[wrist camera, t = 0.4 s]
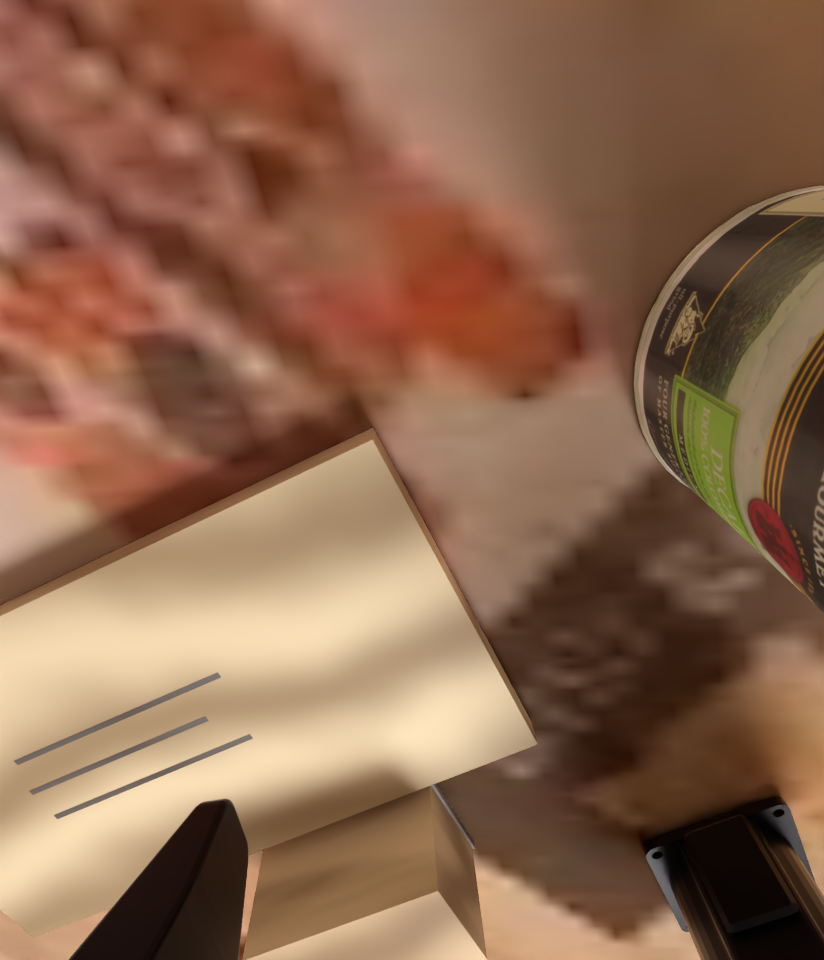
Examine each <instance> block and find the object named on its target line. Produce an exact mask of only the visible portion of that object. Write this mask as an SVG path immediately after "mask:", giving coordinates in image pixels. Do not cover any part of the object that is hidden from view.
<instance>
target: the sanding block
mask: <svg viewBox="0 0 824 960" xmlns="http://www.w3.org/2000/svg"><path fill="white" fill-rule="evenodd" d="M473 848H475V845H474V842H473V840H472V839H471V837H470V836H469V834H468V832H467V831H466V829H465V828H464V826H463V825H462V823H461V822H460V820H459V819H458V817H457V816H456V814H455V813H454V811H453V809H452V808H451V806H450V805H449V803H448V802H447V800H446V799H445V797H444V796H443V794H442V793H441V791H440V790H439V788H438V786H437V785H436V784H433V785H430V786H428V787H425V788H423V789H420V790H417V791H415V792H412V793H410V794H407V795H404V796H402V797H399V798H397V799H394V800H391V801H389V802H386V803H384V804H381V805H378V806H376V807H373V808H370V809H368V810H365V811H363V812H360V813H357V814H355V815H352V816H350V817H347V818H344V819H342V820H339V821H337V822H334V823H331V824H329V825H326V826H324V827H321V828H318V829H316V830H313V831H311V832H308V833H305V834H303V835H300V836H298V837H295V838H292V839H290V840H287V841H285V842H282V843H279V844H277V845H274V846H271V847H269V848H266V849H264V850H263V855H262V860H261V866H260V871H259V876H258V881H257V887H256V892H255V897H254V902H253V908H252V913H251V918H250V923H249V929H248V934H247V939H246V945H245V950H244V955H243V960H486V959H487V956H486V948H485V941H484V933H483V926H482V919H481V911H480V904H479V896H478V889H477V881H476V874H475V866H474V859H473V851H472V849H473Z"/></svg>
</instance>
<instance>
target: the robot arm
mask: <svg viewBox="0 0 824 960" xmlns="http://www.w3.org/2000/svg"><path fill="white" fill-rule="evenodd" d="M643 851H644V854H645V856H646V859H647V861H648V863H649V865H650V867H651V869H652V871H653V873H654V875H655V877H656V879H657V881H658V883H659V885H660V887H661V889H662V891H663V893H664V895H665V897H666V899H667V901H668V903H669V905H670V907H671V909H672V911H673V913H674V915H675V917H676V919H677V921H678V923H679V925H680V927H681V929H682V930H683V931H685V932H690V934H691V937H692V939H693V942H694V944H695V946H696V949H697V951H698V954H699V956H700V958H701V960H824V896H823V894H822V892H821V891H820V889H819V888H818V886H817V885H816V883H815V880H814V877H813V874H812V872H811V869H810V866H809V863H808V860H807V857H806V854H805V851H804V848H803V846H802V843H801V840H800V837H799V834H798V831H797V828H796V825H795V822H794V820H793V817H792V814H791V811H790V809H789V807H788V806H787V804H786V803H785V801H784V800H783V799H782V798H780V797H773V798H769V799H767V800H764V801H761V802H758V803H755V804H752V805H750V806H747V807H744V808H741V809H738V810H735V811H732V812H730V813H727V814H724V815H721V816H718V817H715V818H713V819H710V820H707V821H704V822H701V823H698V824H695V825H693V826H690V827H687V828H684V829H681V830H678V831H676V832H673V833H670V834H667V835H664V836H661V837H659V838H656V839H653V840H650V841H648V842H647V843H646V844H645V845H644V846H643ZM247 868H248V843H247V839H246V836H245V833H244V831H243V828H242V825H241V822H240V820H239V817H238V814H237V812H236V809H235V806H234V804H233V802H232V801H231V800H229V799H219V800H212V801H205V802H202V803H200V804H199V805H197V806H196V807H195V808H194V809H193V811H192V812H191V813H190V814H189V815H188V817H187V818H186V819H185V820H184V821H183V823H182V824H181V825H180V826H179V827H178V829H177V830H176V831H175V832H174V833H173V835H172V836H171V837H170V838H169V839H168V841H167V842H166V843H165V844H164V846H163V847H162V848H161V849H160V850H159V852H158V853H157V854H156V855H155V856H154V858H153V859H152V860H151V861H150V862H149V864H148V865H147V866H146V867H145V868H144V870H143V871H142V872H141V873H140V874H139V876H138V877H137V878H136V879H135V880H134V882H133V883H132V884H131V885H130V886H129V888H128V889H127V890H126V891H125V892H124V894H123V895H122V896H121V897H120V898H119V900H118V901H117V902H116V903H115V904H114V906H113V907H112V908H111V909H110V911H109V912H108V913H107V914H106V915H105V917H104V918H103V919H102V920H101V921H100V923H99V924H98V925H97V926H96V927H95V929H94V930H93V931H92V932H91V933H90V935H89V936H88V937H87V938H86V939H85V941H84V942H83V943H82V944H81V945H80V947H79V948H78V949H77V950H76V951H75V953H74V954H73V955H72V956H71V957H70V959H69V960H238V958H239V948H240V938H241V928H242V918H243V908H244V898H245V888H246V878H247Z"/></svg>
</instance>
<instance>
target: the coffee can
mask: <svg viewBox="0 0 824 960" xmlns="http://www.w3.org/2000/svg"><path fill="white" fill-rule="evenodd" d="M634 394H635V405H636V410H637V415H638V419H639V423H640V427H641V431H642V433H643V435H644V437H645V439H646V441H647V443H648V445H649V447H650V449H651V450H652V452H653V454H654V455H655V456H656V458H657V459H658V460H659V462H660V463H661V464H662V465H663V466H664V468H665V469H666V470H667V471H668V472H669V473H671V474H672V475H673V476H674V477H675V478H676V479H677V480H678V481H680V482H681V483H682V484H684V485H685V486H687V487H688V488H690V489H691V490H692V491H693V492H694V493H695V494H697V495H698V496H699V497H700V498H701V499H702V500H703V501H704V502H705V503H706V504H707V505H709V506H710V507H711V508H712V509H713V510H714V511H715V512H716V513H718V514H719V515H720V516H721V517H722V518H723V519H724V520H725V521H726V522H727V523H728V524H730V525H731V526H732V527H733V528H734V529H735V530H736V531H737V532H738V533H739V534H740V535H741V536H742V537H743V538H745V539H746V540H747V541H748V542H749V543H750V544H751V545H752V546H753V547H754V548H755V549H756V550H757V551H758V552H759V553H760V554H762V555H763V556H764V557H765V558H766V559H767V560H768V561H769V562H770V563H771V564H772V565H773V566H774V567H775V568H776V569H778V570H779V571H780V572H781V573H782V574H783V575H784V576H785V577H786V578H787V579H788V580H789V581H790V582H791V583H793V584H794V585H795V586H796V587H797V588H798V589H799V590H800V591H801V592H802V593H803V594H805V596H806V597H807V598H808V599H809V600H811V601H812V602H813V603H814V604H815V605H816V606H817V607H818V608H819V609H820V610H821V611H822V612H823V613H824V186H813V187H807V188H802V189H797V190H793V191H790V192H786V193H782V194H779V195H777V196H774V197H772V198H769V199H767V200H764V201H762V202H760V203H758V204H755V205H752V206H750V207H747V208H746V209H744V210H743V211H741V212H739V213H738V214H736V215H735V216H734V217H732V218H731V219H729V220H728V221H727V222H725V223H724V224H722V225H721V226H719V227H718V228H716V229H715V230H714V231H713V232H711V233H710V234H709V235H708V236H707V237H706V238H705V239H704V240H703V241H701V242H700V243H699V244H698V245H697V246H696V247H695V248H694V249H693V250H692V251H691V252H690V253H689V254H688V255H687V256H686V257H685V259H684V260H683V261H682V262H681V264H680V265H679V266H678V267H677V269H676V270H675V271H674V272H673V274H672V275H671V276H670V278H669V279H668V281H667V282H666V284H665V285H664V287H663V289H662V290H661V292H660V294H659V296H658V297H657V299H656V301H655V303H654V305H653V307H652V309H651V311H650V313H649V315H648V317H647V320H646V322H645V325H644V328H643V331H642V335H641V339H640V343H639V347H638V351H637V356H636V361H635V372H634Z"/></svg>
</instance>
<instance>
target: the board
mask: <svg viewBox="0 0 824 960" xmlns="http://www.w3.org/2000/svg"><path fill="white" fill-rule="evenodd" d="M537 744H538V743H537V740H536V736H535V733H534V729H533V726H532V722H531V720H530V718H529V716H528V714H527V712H526V711H525V709H524V707H523V705H522V703H521V701H520V699H519V698H518V696H517V694H516V692H515V690H514V688H513V686H512V685H511V683H510V681H509V679H508V677H507V675H506V673H505V672H504V670H503V668H502V666H501V664H500V662H499V660H498V659H497V657H496V655H495V653H494V651H493V649H492V647H491V645H490V644H489V642H488V640H487V638H486V636H485V634H484V632H483V631H482V629H481V627H480V625H479V623H478V621H477V619H476V618H475V616H474V614H473V612H472V610H471V608H470V606H469V605H468V603H467V601H466V599H465V597H464V595H463V593H462V592H461V590H460V588H459V586H458V584H457V582H456V580H455V579H454V577H453V575H452V573H451V571H450V569H449V567H448V565H447V564H446V562H445V560H444V558H443V556H442V554H441V552H440V551H439V549H438V547H437V545H436V543H435V541H434V539H433V538H432V536H431V534H430V532H429V530H428V528H427V526H426V525H425V523H424V521H423V519H422V517H421V515H420V513H419V512H418V510H417V508H416V506H415V504H414V502H413V500H412V499H411V497H410V495H409V493H408V491H407V489H406V487H405V485H404V484H403V482H402V480H401V478H400V476H399V474H398V472H397V471H396V469H395V467H394V465H393V463H392V461H391V459H390V458H389V456H388V454H387V452H386V450H385V448H384V446H383V445H382V443H381V441H380V439H379V437H378V435H377V433H376V432H375V430H374V428H371V429H369V430H366V431H364V432H362V433H360V434H358V435H356V436H354V437H352V438H350V439H348V440H345V441H343V442H341V443H339V444H337V445H335V446H333V447H331V448H329V449H327V450H325V451H322V452H320V453H318V454H316V455H314V456H312V457H310V458H308V459H306V460H304V461H301V462H299V463H297V464H295V465H293V466H291V467H289V468H287V469H285V470H283V471H281V472H278V473H276V474H274V475H272V476H270V477H268V478H266V479H264V480H262V481H260V482H257V483H255V484H253V485H251V486H249V487H247V488H245V489H243V490H241V491H239V492H237V493H234V494H232V495H230V496H228V497H226V498H224V499H222V500H220V501H218V502H216V503H214V504H211V505H209V506H207V507H205V508H203V509H201V510H199V511H197V512H195V513H193V514H190V515H188V516H186V517H184V518H182V519H180V520H178V521H176V522H174V523H172V524H170V525H167V526H165V527H163V528H161V529H159V530H157V531H155V532H153V533H151V534H149V535H146V536H144V537H142V538H140V539H138V540H136V541H134V542H132V543H130V544H128V545H126V546H123V547H121V548H119V549H117V550H115V551H113V552H111V553H109V554H107V555H105V556H102V557H100V558H98V559H96V560H94V561H92V562H90V563H88V564H86V565H84V566H82V567H79V568H77V569H75V570H73V571H71V572H69V573H67V574H65V575H63V576H61V577H59V578H56V579H54V580H52V581H50V582H48V583H46V584H44V585H42V586H40V587H38V588H35V589H33V590H31V591H29V592H27V593H25V594H23V595H21V596H19V597H17V598H15V599H12V600H10V601H8V602H6V603H4V604H2V605H0V910H1V911H2V912H3V913H4V914H6V915H7V916H8V917H9V918H10V919H11V920H13V921H14V922H15V923H16V924H17V925H18V926H20V927H21V928H22V929H23V930H24V931H25V932H27V933H28V934H29V935H30V936H31V937H32V938H34V937H37V936H40V935H42V934H45V933H47V932H50V931H53V930H55V929H58V928H60V927H63V926H66V925H68V924H71V923H73V922H76V921H79V920H81V919H84V918H86V917H89V916H92V915H94V914H97V913H100V912H102V911H105V910H107V909H110V908H112V907H113V906H114V904H115V903H116V902H117V901H118V900H119V898H120V897H121V896H122V895H123V894H124V892H125V891H126V890H127V889H128V888H129V886H130V885H131V884H132V883H133V882H134V880H135V879H136V878H137V877H138V876H139V874H140V873H141V872H142V871H143V870H144V868H145V867H146V866H147V865H148V864H149V862H150V861H151V860H152V859H153V858H154V856H155V855H156V854H157V853H158V852H159V850H160V849H161V848H162V847H163V846H164V844H165V843H166V842H167V841H168V839H169V838H170V837H171V836H172V835H173V833H174V832H175V831H176V830H177V829H178V827H179V826H180V825H181V824H182V823H183V821H184V820H185V819H186V818H187V817H188V815H189V814H190V813H191V812H192V811H193V809H194V808H195V807H196V806H197V805H199V804H200V803H202V802H205V801H212V800H219V799H229V800H231V801H232V802H233V804H234V806H235V809H236V812H237V814H238V817H239V820H240V822H241V825H242V828H243V831H244V833H245V836H246V839H247V843H248V855H251V854H253V853H256V852H258V851H261V850H264V849H266V848H269V847H271V846H274V845H277V844H279V843H282V842H285V841H287V840H290V839H292V838H295V837H298V836H300V835H303V834H305V833H308V832H311V831H313V830H316V829H318V828H321V827H324V826H326V825H329V824H331V823H334V822H337V821H339V820H342V819H344V818H347V817H350V816H352V815H355V814H357V813H360V812H363V811H365V810H368V809H370V808H373V807H376V806H378V805H381V804H384V803H386V802H389V801H391V800H394V799H397V798H399V797H402V796H404V795H407V794H410V793H412V792H415V791H417V790H420V789H423V788H425V787H428V786H430V785H433V784H436V783H438V782H441V781H443V780H446V779H449V778H451V777H454V776H456V775H459V774H462V773H464V772H467V771H470V770H472V769H475V768H477V767H480V766H483V765H485V764H488V763H490V762H493V761H496V760H498V759H501V758H503V757H506V756H509V755H511V754H514V753H516V752H519V751H522V750H524V749H527V748H529V747H532V746H535V745H537Z"/></svg>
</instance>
